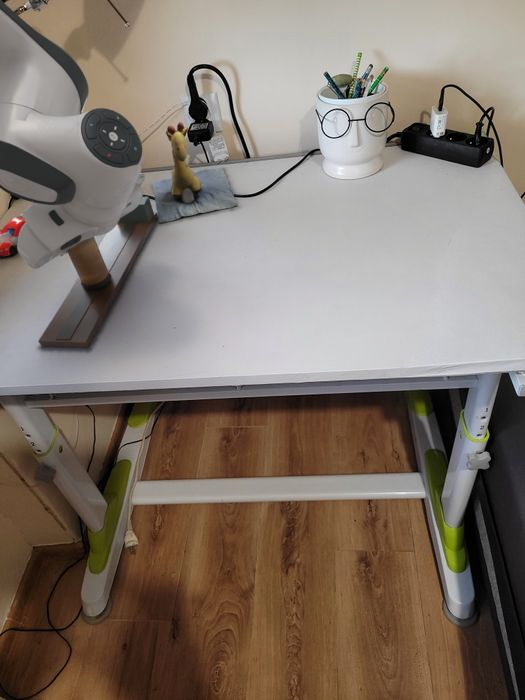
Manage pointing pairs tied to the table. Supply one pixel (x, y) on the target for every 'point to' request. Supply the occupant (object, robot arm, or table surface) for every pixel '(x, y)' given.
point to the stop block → (140, 212)
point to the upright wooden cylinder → (89, 264)
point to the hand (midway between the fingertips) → (77, 240)
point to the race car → (10, 236)
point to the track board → (92, 305)
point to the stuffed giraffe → (190, 185)
